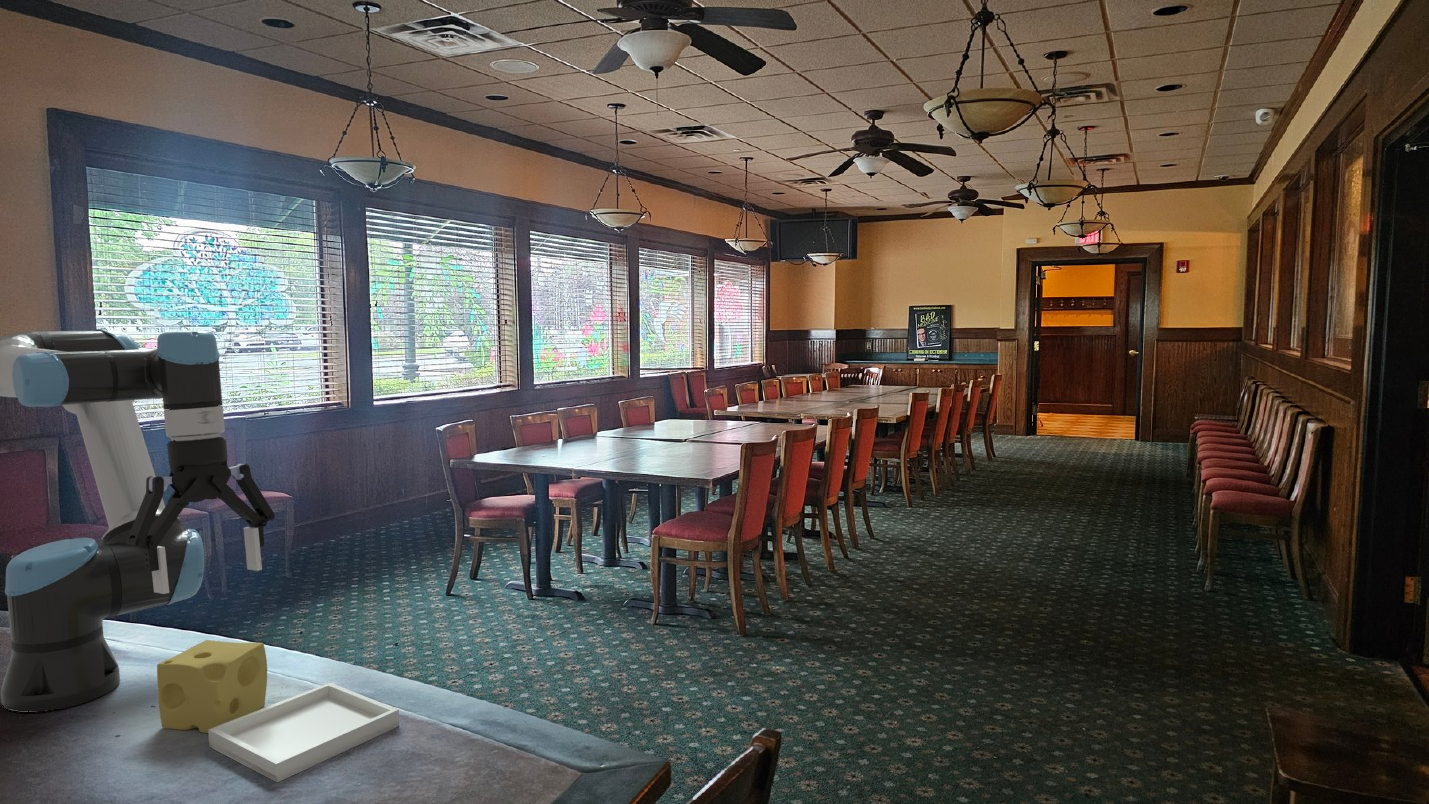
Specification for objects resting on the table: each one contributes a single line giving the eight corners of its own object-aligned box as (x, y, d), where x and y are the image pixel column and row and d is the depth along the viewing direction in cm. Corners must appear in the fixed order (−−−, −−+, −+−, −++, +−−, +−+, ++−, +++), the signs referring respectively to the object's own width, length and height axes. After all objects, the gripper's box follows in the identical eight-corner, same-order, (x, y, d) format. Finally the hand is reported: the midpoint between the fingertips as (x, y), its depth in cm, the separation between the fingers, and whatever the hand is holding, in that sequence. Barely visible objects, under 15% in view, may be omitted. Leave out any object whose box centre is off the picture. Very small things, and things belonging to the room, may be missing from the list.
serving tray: (209, 746, 125) (208, 729, 125) (330, 697, 141) (330, 682, 140) (277, 782, 116) (276, 763, 116) (399, 725, 132) (398, 709, 131)
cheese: (220, 736, 128) (216, 669, 127) (155, 729, 130) (150, 662, 129) (270, 704, 138) (267, 641, 137) (209, 698, 141) (205, 636, 139)
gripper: (115, 448, 120) (131, 605, 121) (291, 428, 141) (303, 562, 142) (88, 447, 124) (104, 600, 125) (263, 428, 145) (275, 559, 146)
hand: (210, 580), depth 133 cm, fingers open, 13 cm apart
